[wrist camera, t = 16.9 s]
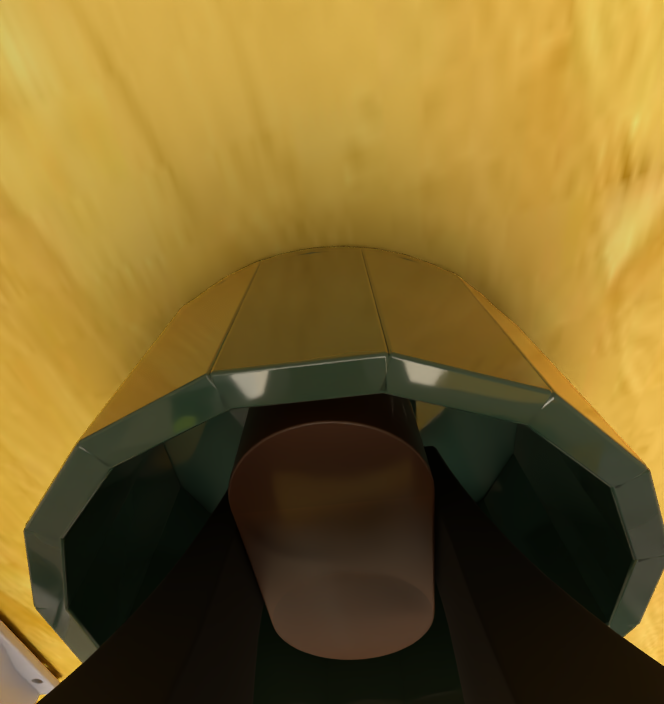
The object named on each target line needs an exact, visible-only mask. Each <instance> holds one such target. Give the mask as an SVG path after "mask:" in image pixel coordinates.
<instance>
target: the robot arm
mask: <svg viewBox="0 0 664 704" xmlns="http://www.w3.org/2000/svg"><path fill="white" fill-rule="evenodd" d="M424 449H425V452H426V456H427V459H428V463H429V466H430V469H431V473H432V476H433V480H434V487H435V580H436V584H437V587H438V590H439V594H440V597H441V600H442V604H443V607H444V611H445V614H446V618H447V622H448V626H449V630H450V635H451V640H452V644H453V649H454V654H455V659H456V663H457V668H458V673H459V678H460V683H461V687H462V692H463V697H464V702H465V704H664V666H663V665H661V664H660V663H658V662H657V661H656V660H654V659H653V658H651V657H650V656H648V655H647V654H645V653H644V652H643V651H641V650H640V649H638V648H637V647H636V646H634V645H633V644H632V643H630V642H629V641H627V640H626V639H625V638H623V637H622V636H621V635H619V634H618V633H616V632H615V631H614V630H612V629H611V628H610V627H609V626H607V625H606V624H605V623H603V622H602V621H601V620H599V619H598V618H597V617H596V616H594V615H593V614H592V613H590V612H589V611H588V610H587V609H585V608H584V607H583V606H582V605H581V604H579V603H578V602H577V601H576V600H575V599H573V598H572V597H571V596H570V595H569V594H567V593H566V592H565V591H564V590H563V589H561V588H560V587H559V586H558V585H557V584H555V583H554V582H553V581H552V580H551V579H550V578H548V577H547V576H546V575H545V574H544V573H543V572H542V571H541V570H540V569H539V568H538V567H536V566H535V565H534V564H533V563H532V562H531V561H530V560H529V559H528V558H527V557H526V556H525V555H524V554H523V553H522V552H521V551H520V550H519V549H518V548H517V547H516V546H515V545H514V544H513V543H512V542H511V541H510V540H509V539H508V538H507V537H506V536H505V535H504V534H503V533H502V532H501V531H500V530H499V529H498V528H497V527H496V525H495V524H494V523H493V522H492V521H491V520H490V519H489V518H488V517H487V515H486V514H485V513H484V512H483V511H482V510H481V508H480V507H479V506H478V505H477V504H476V502H475V501H474V500H473V499H472V497H471V496H470V495H469V494H468V492H467V491H466V490H465V489H464V487H463V486H462V485H461V484H460V482H459V481H458V480H457V478H456V477H455V475H454V474H453V473H452V471H451V470H450V468H449V467H448V466H447V464H446V463H445V461H444V460H443V458H442V456H441V455H440V453H439V452H438V450H437V448H435V447H434V446H426V447H424ZM263 604H264V600H263V597H262V594H261V591H260V588H259V586H258V583H257V580H256V577H255V575H254V572H253V569H252V566H251V564H250V561H249V558H248V555H247V553H246V550H245V547H244V544H243V541H242V539H241V536H240V533H239V530H238V528H237V525H236V522H235V519H234V517H233V514H232V512H231V508H230V504H229V500H228V489H227V491H226V492H225V494H224V496H223V497H222V499H221V500H220V502H219V504H218V505H217V507H216V508H215V510H214V511H213V513H212V514H211V516H210V517H209V519H208V520H207V522H206V523H205V525H204V526H203V528H202V529H201V531H200V532H199V534H198V535H197V536H196V538H195V539H194V540H193V542H192V543H191V545H190V546H189V547H188V549H187V550H186V551H185V553H184V554H183V555H182V557H181V558H180V559H179V561H178V562H177V563H176V564H175V566H174V567H173V568H172V570H171V571H170V572H169V573H168V574H167V576H166V577H165V578H164V579H163V580H162V582H161V583H160V584H159V585H158V586H157V588H156V589H155V590H154V591H153V592H152V593H151V594H150V595H149V597H148V598H147V599H146V600H145V601H144V602H143V603H142V604H141V605H140V607H139V608H138V609H137V610H136V611H135V612H134V613H133V614H132V615H131V616H130V617H129V618H128V619H127V620H126V622H125V623H124V624H123V625H122V626H121V627H120V628H119V629H118V630H117V631H116V632H115V633H114V634H113V635H112V636H111V637H109V638H108V639H107V640H106V641H105V642H104V643H103V644H102V645H101V646H100V647H99V648H98V649H97V650H96V651H95V652H94V653H93V654H92V655H91V656H90V657H89V658H88V659H87V660H86V661H85V662H83V663H82V664H81V665H80V666H79V667H78V668H77V669H76V670H75V671H74V672H73V673H71V674H70V675H69V676H68V677H67V678H66V679H64V680H63V681H62V682H61V683H60V682H59V680H58V679H57V678H56V677H55V676H54V675H53V674H52V673H51V672H50V671H49V670H48V669H47V668H46V667H45V666H44V665H43V664H42V663H41V662H40V661H39V660H38V658H37V657H36V656H35V655H34V654H33V653H32V652H31V651H30V650H29V649H28V648H27V647H26V646H25V645H24V644H23V643H22V642H21V641H20V640H19V639H18V638H17V637H16V635H15V634H14V633H13V632H12V631H11V630H10V629H9V628H8V627H7V626H6V625H5V624H4V623H3V622H2V621H1V620H0V704H35V703H36V701H37V699H38V697H39V695H41V694H47V695H46V696H45V697H43V698H42V699H41V700H40V701H39V702H38V703H36V704H253V695H254V681H255V669H256V657H257V646H258V636H259V629H260V622H261V616H262V610H263Z"/></svg>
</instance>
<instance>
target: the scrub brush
mask: <svg viewBox="0 0 664 704" xmlns="http://www.w3.org/2000/svg"><path fill="white" fill-rule="evenodd" d="M228 500H229V504H230V508H231V512H232V514H233V517H234V519H235V522H236V525H237V528H238V530H239V533H240V536H241V539H242V541H243V544H244V547H245V550H246V553H247V555H248V558H249V561H250V564H251V566H252V569H253V572H254V575H255V577H256V580H257V583H258V586H259V588H260V591H261V594H262V597H263V600H264V602H265V605H266V608H267V611H268V613H269V616H270V619H271V622H272V624H273V627H274V629H275V631H276V632H277V634H278V635H279V636H280V637H281V638H282V639H283V640H284V641H285V642H287V643H288V644H289V645H291V646H293V647H295V648H296V649H298V650H301V651H303V652H305V653H309V654H312V655H315V656H319V657H324V658H330V659H340V660H357V659H368V658H374V657H380V656H384V655H388V654H391V653H394V652H397V651H399V650H402V649H404V648H406V647H408V646H410V645H412V644H413V643H415V642H416V641H418V640H419V639H420V638H421V637H422V636H423V635H424V634H425V633H426V632H427V631H428V630H429V628H430V626H431V625H432V622H433V619H434V614H435V487H434V480H433V476H432V473H431V469H430V466H429V463H428V459H427V456H426V452H425V449H424V446H423V442H422V439H421V436H420V432H419V429H418V426H417V422H416V419H415V415H414V412H413V409H412V405H411V403H410V401H409V399H406V398H402V397H397V396H393V395H388V394H384V393H381V394H371V395H362V396H353V397H344V398H334V399H325V400H316V401H306V402H297V403H288V404H279V405H269V406H260V407H251V408H249V410H248V413H247V417H246V421H245V424H244V428H243V432H242V435H241V439H240V443H239V446H238V450H237V454H236V458H235V461H234V465H233V469H232V472H231V476H230V480H229V486H228Z"/></svg>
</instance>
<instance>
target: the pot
mask: <svg viewBox="0 0 664 704" xmlns="http://www.w3.org/2000/svg"><path fill="white" fill-rule="evenodd" d="M381 393H384V394H388V395H393V396H397V397H402V398H406V399H409V401H410V403H411V405H412V409H413V412H414V415H415V419H416V422H417V426H418V429H419V432H420V436H421V439H422V442H423V446H424V447H426V446H434V447H435V448H437V450H438V452H439V453H440V455H441V456H442V458H443V460H444V461H445V463H446V464H447V466H448V467H449V468H450V470H451V471H452V473H453V474H454V475H455V477H456V478H457V480H458V481H459V482H460V484H461V485H462V486H463V487H464V489H465V490H466V491H467V492H468V494H469V495H470V496H471V497H472V499H473V500H474V501H475V502H476V504H477V505H478V506H479V507H480V508H481V510H482V511H483V512H484V513H485V514H486V515H487V517H488V518H489V519H490V520H491V521H492V522H493V523H494V524H495V525H496V527H497V528H498V529H499V530H500V531H501V532H502V533H503V534H504V535H505V536H506V537H507V538H508V539H509V540H510V541H511V542H512V543H513V544H514V545H515V546H516V547H517V548H518V549H519V550H520V551H521V552H522V553H523V554H524V555H525V556H526V557H527V558H528V559H529V560H530V561H531V562H532V563H533V564H534V565H535V566H536V567H538V568H539V569H540V570H541V571H542V572H543V573H544V574H545V575H546V576H547V577H548V578H550V579H551V580H552V581H553V582H554V583H555V584H557V585H558V586H559V587H560V588H561V589H563V590H564V591H565V592H566V593H567V594H569V595H570V596H571V597H572V598H573V599H575V600H576V601H577V602H578V603H579V604H581V605H582V606H583V607H584V608H585V609H587V610H588V611H589V612H590V613H592V614H593V615H594V616H596V617H597V618H598V619H599V620H601V621H602V622H603V623H605V624H606V625H607V626H609V627H610V628H611V629H612V630H614V631H615V632H616V633H618V634H619V635H621V636H622V637H624V636H626V635H627V634H628V633H629V632H630V631H631V630H633V629H634V628H635V627H636V626H637V625H638V624H640V621H641V619H642V617H643V615H644V613H645V610H646V608H647V606H648V604H649V602H650V599H651V597H652V595H653V593H654V591H655V588H656V586H657V584H658V582H659V579H660V577H661V575H662V573H663V571H664V524H663V520H662V516H661V512H660V508H659V504H658V500H657V496H656V492H655V488H654V484H653V480H652V476H651V472H650V469H649V468H648V467H647V466H646V464H645V463H644V462H643V461H642V460H641V458H640V457H639V456H638V455H637V454H636V453H635V452H634V451H633V450H632V449H631V448H630V447H629V446H628V444H627V443H626V442H625V441H624V440H623V439H622V438H621V437H620V436H619V435H618V434H617V433H616V432H615V430H614V429H613V428H612V427H611V426H610V425H609V424H608V423H607V422H606V421H605V420H604V419H603V417H602V416H601V415H600V414H599V413H598V412H597V411H596V410H595V409H594V408H593V407H592V406H591V405H590V403H589V402H588V401H587V400H586V399H585V398H584V397H583V396H582V395H581V394H580V393H579V392H578V391H577V389H576V388H575V387H574V386H573V385H572V384H571V383H570V382H569V381H568V380H567V379H566V378H565V377H564V375H563V374H562V373H561V372H560V371H559V370H558V369H557V368H556V367H555V366H554V365H553V364H552V362H551V361H550V360H549V359H548V358H547V357H546V356H545V355H544V354H543V353H542V352H541V351H540V350H539V348H538V347H537V346H536V345H535V344H534V343H533V342H532V341H531V340H530V339H529V338H528V337H527V336H526V334H525V333H524V332H523V331H522V330H521V329H520V328H519V327H518V326H517V325H516V324H515V323H514V322H512V321H511V320H510V319H509V318H508V317H507V316H505V315H504V314H503V313H502V312H501V311H499V310H498V309H497V308H496V307H495V306H494V305H493V304H492V303H491V302H490V301H489V300H488V299H487V298H486V297H485V296H484V295H483V294H481V293H480V292H479V291H477V290H476V289H474V288H473V287H472V286H470V285H469V284H468V283H466V282H465V281H464V280H463V279H462V278H461V277H459V276H458V275H455V274H454V273H453V272H450V271H446V270H444V269H442V268H440V267H438V266H436V265H434V264H431V263H428V262H425V261H423V260H420V259H417V258H414V257H411V256H408V255H405V254H400V253H396V252H391V251H386V250H381V249H376V248H363V247H349V246H337V247H321V248H309V249H304V250H299V251H294V252H289V253H284V254H279V255H276V256H273V257H270V258H267V259H264V260H262V261H261V260H260V261H258V262H256V263H253V264H250V265H248V266H246V267H244V268H242V269H240V270H238V271H236V272H234V273H232V274H230V275H228V276H226V277H224V278H223V279H221V280H220V281H219V282H217V283H216V284H214V285H213V286H211V287H210V288H208V289H207V290H206V291H204V292H203V293H201V294H200V295H199V296H198V297H197V298H195V299H193V300H192V301H190V302H188V303H187V304H185V305H184V306H183V307H182V308H181V309H180V310H179V311H178V313H177V314H176V315H175V316H174V318H173V319H172V320H171V322H170V323H169V324H168V325H167V327H166V328H165V329H164V331H163V332H162V333H161V334H160V336H159V337H158V338H157V340H156V341H155V342H154V343H153V345H152V346H151V347H150V349H149V350H148V351H147V352H146V354H145V355H144V356H143V358H142V359H141V360H140V361H139V363H138V364H137V365H136V367H135V368H134V369H133V370H132V372H131V373H130V374H129V376H128V377H127V378H126V379H125V381H124V382H123V383H122V385H121V386H120V387H119V388H118V390H117V391H116V392H115V394H114V395H113V396H112V397H111V399H110V400H109V401H108V403H107V404H106V405H105V406H104V408H103V409H102V410H101V412H100V413H99V414H98V415H97V417H96V418H95V419H94V421H93V422H92V423H91V424H90V426H89V427H88V428H87V430H86V431H85V432H84V433H83V435H82V436H81V437H80V439H79V440H78V441H77V442H76V444H75V446H74V447H73V449H72V450H71V452H70V454H69V455H68V457H67V458H66V460H65V462H64V463H63V465H62V466H61V468H60V470H59V471H58V473H57V475H56V476H55V478H54V479H53V481H52V483H51V484H50V486H49V487H48V489H47V491H46V492H45V494H44V496H43V497H42V499H41V500H40V502H39V504H38V505H37V507H36V508H35V510H34V512H33V513H32V515H31V516H30V518H29V520H28V521H27V523H26V526H25V528H24V531H23V532H24V539H25V546H26V553H27V560H28V567H29V574H30V581H31V588H32V595H33V602H34V606H35V607H36V610H37V611H38V612H39V613H40V614H41V616H42V617H43V618H44V619H45V620H46V621H47V623H48V624H49V625H50V626H51V627H52V628H53V630H54V631H55V632H56V633H57V634H58V635H59V637H60V638H61V639H62V640H63V641H64V642H65V644H66V645H67V646H68V647H69V648H70V649H71V651H72V652H73V653H74V654H75V655H76V656H77V657H78V659H79V660H80V661H81V662H82V663H83V662H85V661H86V660H87V659H88V658H89V657H90V656H91V655H92V654H93V653H94V652H95V651H96V650H97V649H98V648H99V647H100V646H101V645H102V644H103V643H104V642H105V641H106V640H107V639H108V638H109V637H111V636H112V635H113V634H114V633H115V632H116V631H117V630H118V629H119V628H120V627H121V626H122V625H123V624H124V623H125V622H126V620H127V619H128V618H129V617H130V616H131V615H132V614H133V613H134V612H135V611H136V610H137V609H138V608H139V607H140V605H141V604H142V603H143V602H144V601H145V600H146V599H147V598H148V597H149V595H150V594H151V593H152V592H153V591H154V590H155V589H156V588H157V586H158V585H159V584H160V583H161V582H162V580H163V579H164V578H165V577H166V576H167V574H168V573H169V572H170V571H171V570H172V568H173V567H174V566H175V564H176V563H177V562H178V561H179V559H180V558H181V557H182V555H183V554H184V553H185V551H186V550H187V549H188V547H189V546H190V545H191V543H192V542H193V540H194V539H195V538H196V536H197V535H198V534H199V532H200V531H201V529H202V528H203V526H204V525H205V523H206V522H207V520H208V519H209V517H210V516H211V514H212V513H213V511H214V510H215V508H216V507H217V505H218V504H219V502H220V500H221V499H222V497H223V496H224V494H225V492H226V491H227V489H228V486H229V480H230V476H231V472H232V469H233V465H234V461H235V458H236V454H237V450H238V446H239V443H240V439H241V435H242V432H243V428H244V424H245V421H246V417H247V413H248V410H249V408H251V407H260V406H269V405H279V404H288V403H297V402H306V401H316V400H325V399H334V398H344V397H353V396H362V395H371V394H381ZM253 704H465V702H464V697H463V692H462V687H461V683H460V678H459V673H458V668H457V663H456V659H455V654H454V649H453V644H452V640H451V635H450V630H449V626H448V622H447V618H446V614H445V611H444V607H443V604H442V600H441V597H440V594H439V590H438V587H437V584H436V580H435V614H434V619H433V622H432V625H431V626H430V628H429V630H428V631H427V632H426V633H425V634H424V635H423V636H422V637H421V638H420V639H419V640H418V641H416V642H415V643H413V644H412V645H410V646H408V647H406V648H404V649H402V650H399V651H397V652H394V653H391V654H388V655H384V656H380V657H374V658H368V659H357V660H340V659H330V658H324V657H319V656H315V655H312V654H309V653H305V652H303V651H301V650H298V649H296V648H295V647H293V646H291V645H289V644H288V643H287V642H285V641H284V640H283V639H282V638H281V637H280V636H279V635H278V634H277V632H276V631H275V629H274V627H273V624H272V622H271V619H270V616H269V613H268V611H267V608H266V605H265V602H264V604H263V610H262V616H261V622H260V629H259V636H258V646H257V657H256V669H255V681H254V695H253Z"/></svg>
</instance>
